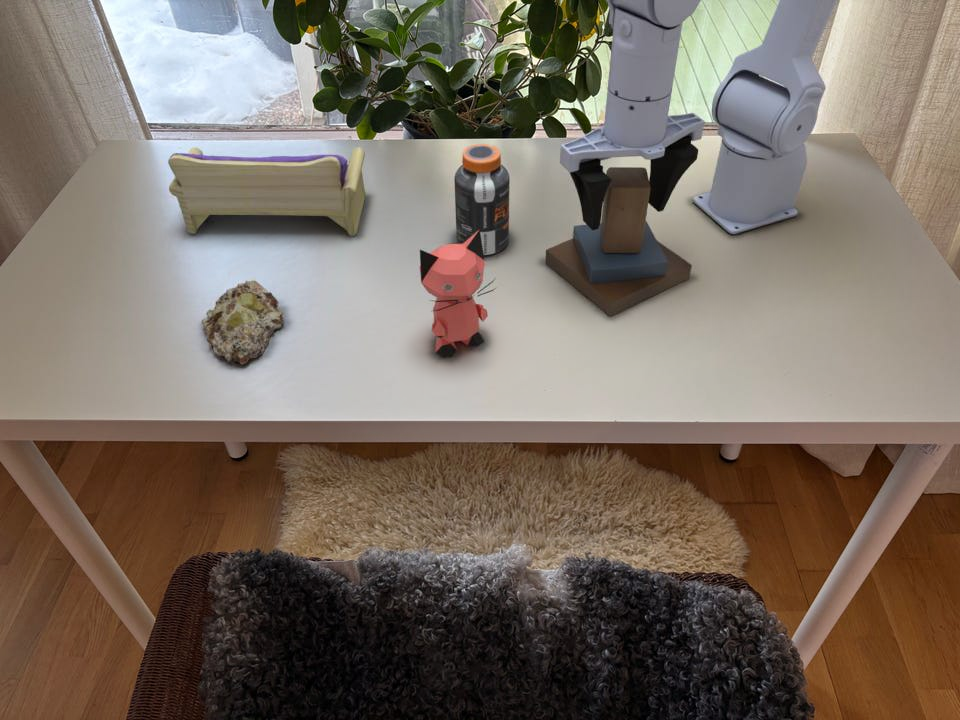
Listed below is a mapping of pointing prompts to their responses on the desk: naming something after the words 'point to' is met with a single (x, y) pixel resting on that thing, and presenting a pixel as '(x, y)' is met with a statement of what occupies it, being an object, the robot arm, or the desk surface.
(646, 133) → the robot arm
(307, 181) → the toy sofa
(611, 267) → the top tile
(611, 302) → the base slab
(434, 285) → the cat figurine
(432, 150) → the desk surface
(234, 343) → the mineral rock
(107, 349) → the desk surface
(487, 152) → the pill bottle
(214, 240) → the desk surface
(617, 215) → the wooden block
